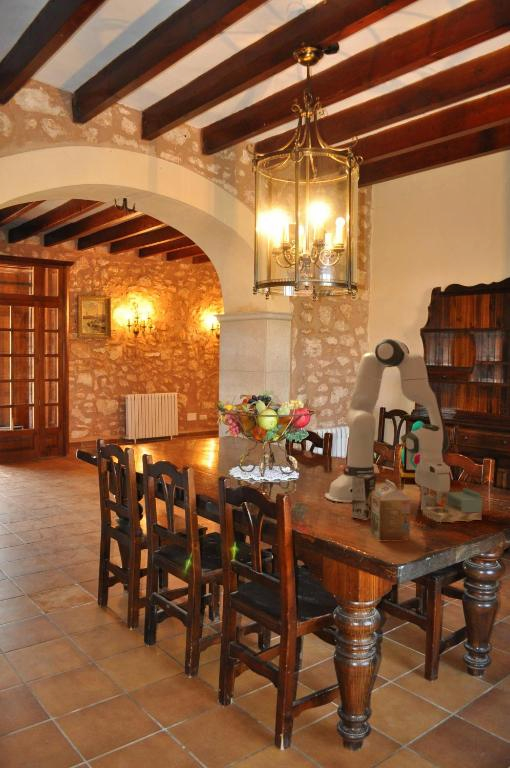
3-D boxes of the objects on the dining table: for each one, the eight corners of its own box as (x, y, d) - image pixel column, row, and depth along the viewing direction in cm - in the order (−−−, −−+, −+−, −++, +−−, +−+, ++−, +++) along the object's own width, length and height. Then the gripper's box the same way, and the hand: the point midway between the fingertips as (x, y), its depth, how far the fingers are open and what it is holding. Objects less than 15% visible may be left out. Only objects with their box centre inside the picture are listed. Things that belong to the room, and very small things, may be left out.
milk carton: (409, 540, 206) (410, 485, 205) (379, 541, 206) (379, 485, 205) (399, 531, 217) (400, 478, 216) (370, 532, 216) (371, 479, 215)
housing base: (438, 523, 228) (438, 515, 227) (422, 514, 239) (422, 507, 239) (481, 520, 232) (481, 512, 232) (463, 512, 243) (464, 504, 243)
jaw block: (425, 512, 243) (426, 497, 243) (420, 510, 247) (421, 495, 246) (435, 512, 244) (435, 497, 243) (429, 509, 248) (430, 495, 247)
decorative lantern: (441, 486, 291) (442, 423, 289) (398, 484, 294) (399, 422, 293) (436, 477, 310) (437, 419, 309) (396, 476, 314) (397, 418, 312)
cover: (462, 512, 230) (463, 495, 229) (445, 505, 241) (446, 488, 241) (481, 511, 232) (482, 494, 231) (464, 503, 243) (464, 487, 243)
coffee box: (367, 521, 230) (367, 478, 229) (351, 518, 234) (351, 476, 233) (375, 515, 238) (376, 474, 237) (360, 513, 241) (360, 473, 241)
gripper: (410, 461, 254) (411, 494, 255) (438, 470, 234) (438, 505, 235) (424, 460, 256) (424, 493, 256) (452, 469, 236) (453, 504, 237)
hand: (431, 499), depth 246 cm, fingers open, 8 cm apart
